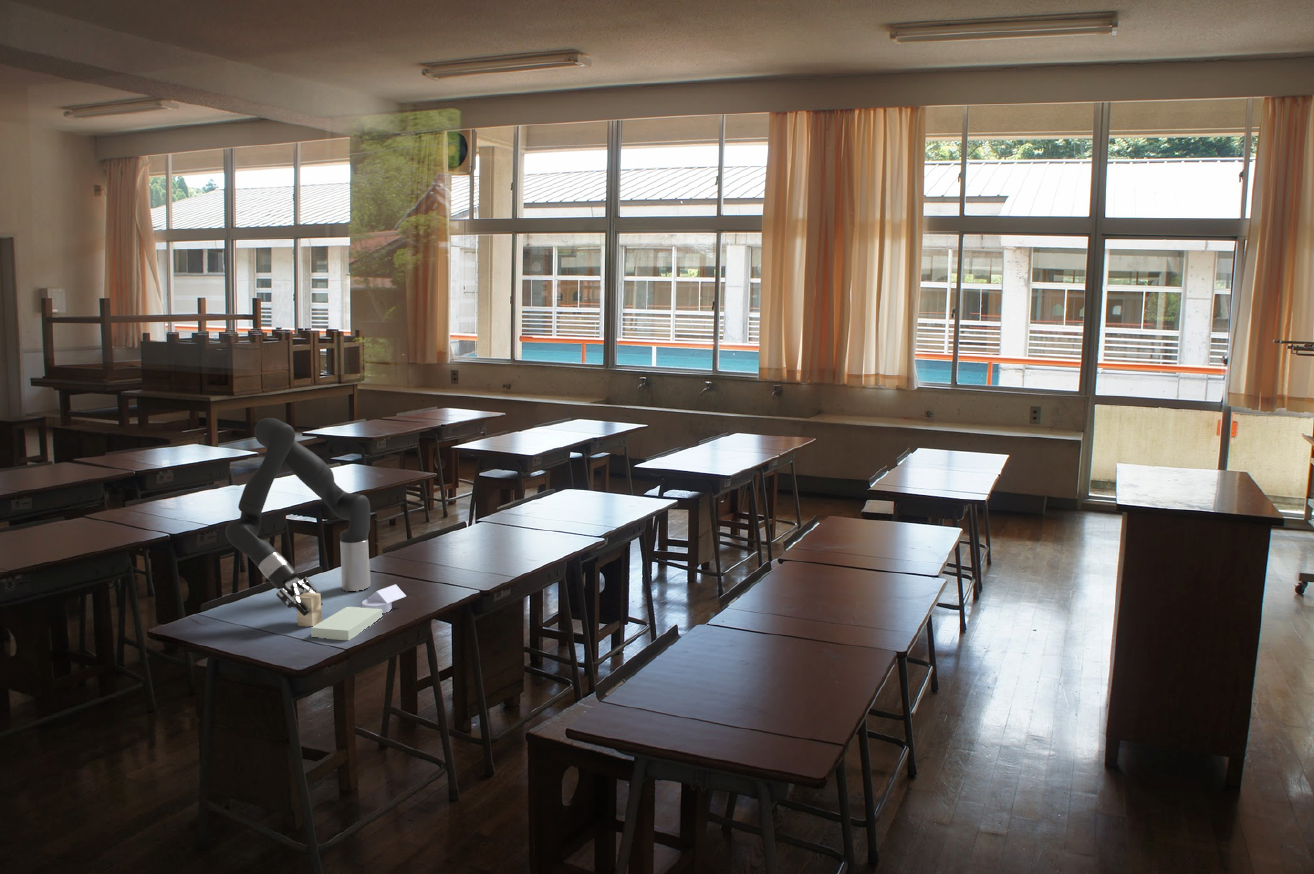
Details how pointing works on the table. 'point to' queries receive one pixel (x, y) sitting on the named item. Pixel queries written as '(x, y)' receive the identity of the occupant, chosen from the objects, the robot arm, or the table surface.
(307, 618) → the birch block
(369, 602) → the wedge on round base
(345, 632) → the sage board
